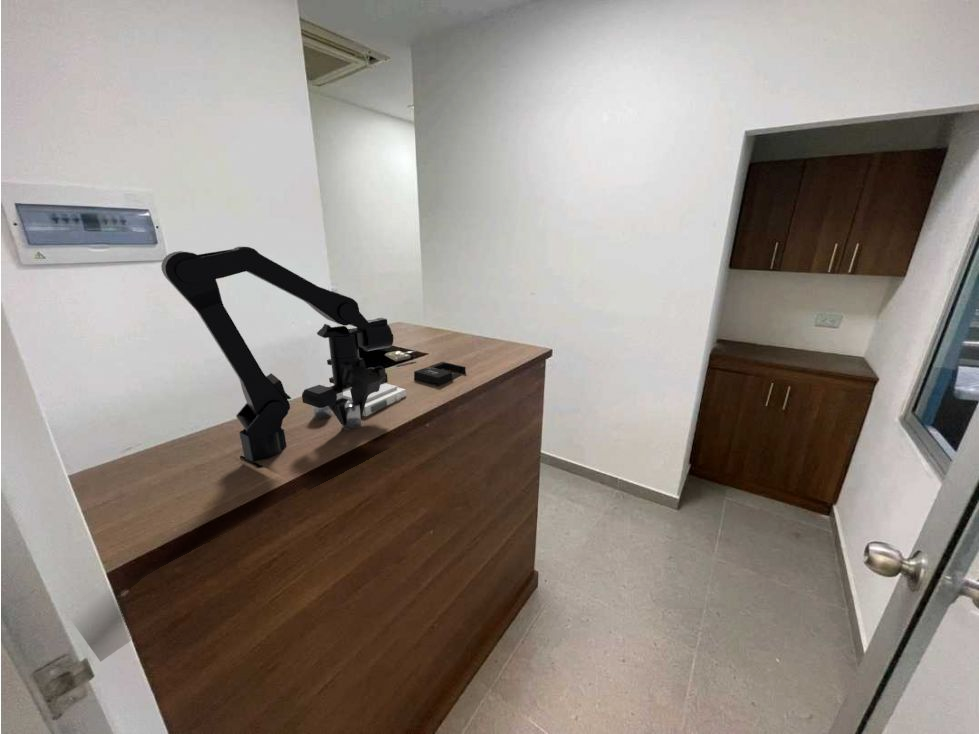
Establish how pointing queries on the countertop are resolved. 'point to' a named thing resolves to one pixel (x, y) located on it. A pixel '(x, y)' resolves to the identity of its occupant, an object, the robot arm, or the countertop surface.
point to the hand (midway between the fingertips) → (351, 421)
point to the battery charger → (438, 373)
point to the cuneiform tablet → (399, 355)
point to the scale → (379, 398)
